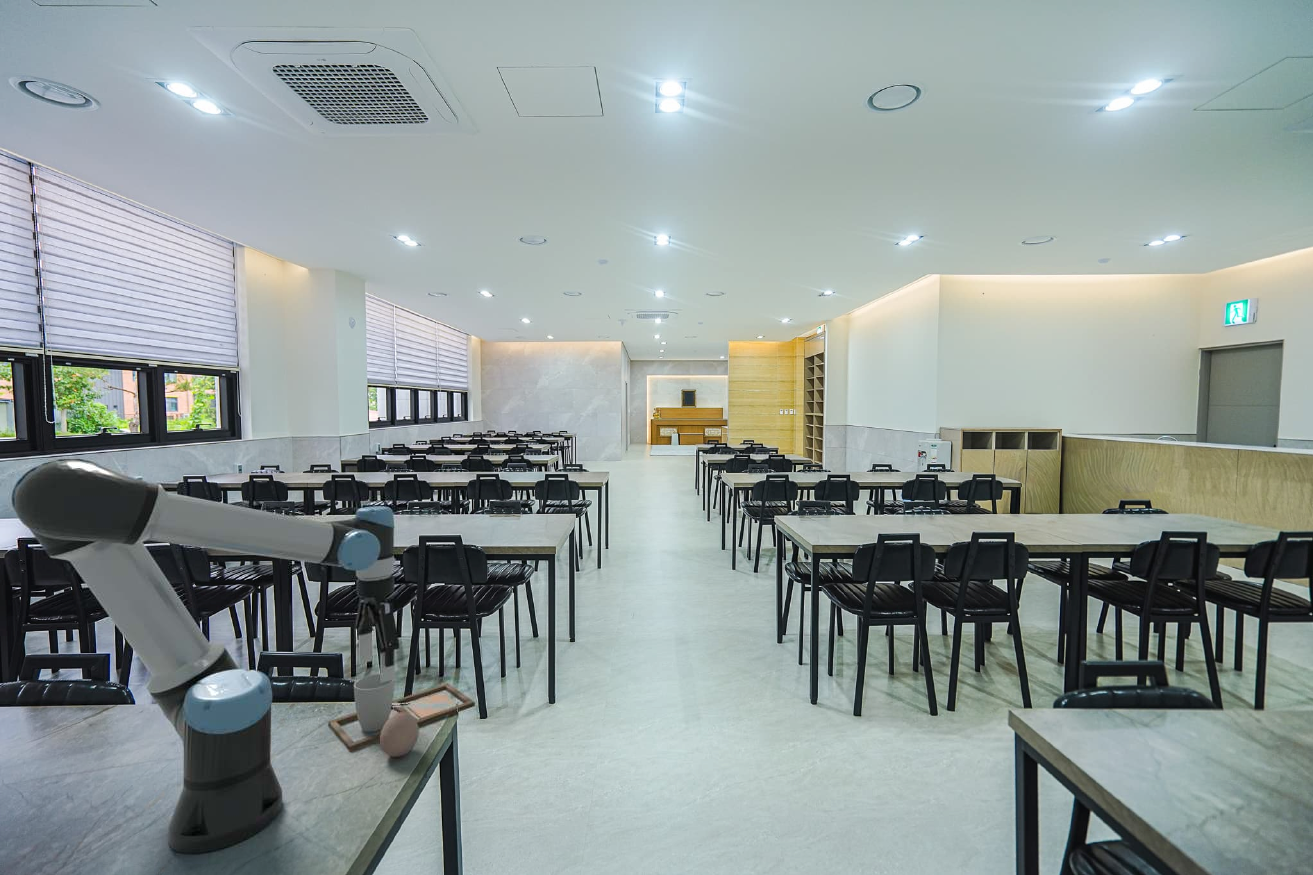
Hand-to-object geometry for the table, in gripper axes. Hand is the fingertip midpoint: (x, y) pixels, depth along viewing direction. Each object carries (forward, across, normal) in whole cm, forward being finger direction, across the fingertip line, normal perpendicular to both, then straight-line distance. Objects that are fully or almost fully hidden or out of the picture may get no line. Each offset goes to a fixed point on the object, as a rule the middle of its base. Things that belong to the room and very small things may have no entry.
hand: (376, 670), depth 125 cm
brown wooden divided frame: (+12, 0, -6) cm, 14 cm away
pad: (+12, 0, -13) cm, 18 cm away
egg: (+12, -16, +1) cm, 20 cm away
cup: (+12, 0, +1) cm, 12 cm away
